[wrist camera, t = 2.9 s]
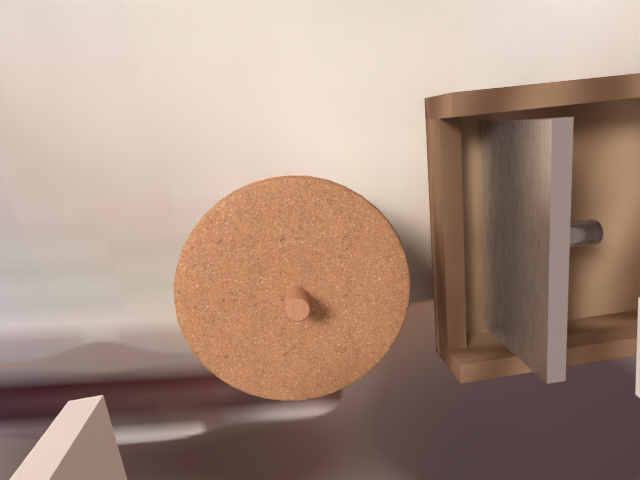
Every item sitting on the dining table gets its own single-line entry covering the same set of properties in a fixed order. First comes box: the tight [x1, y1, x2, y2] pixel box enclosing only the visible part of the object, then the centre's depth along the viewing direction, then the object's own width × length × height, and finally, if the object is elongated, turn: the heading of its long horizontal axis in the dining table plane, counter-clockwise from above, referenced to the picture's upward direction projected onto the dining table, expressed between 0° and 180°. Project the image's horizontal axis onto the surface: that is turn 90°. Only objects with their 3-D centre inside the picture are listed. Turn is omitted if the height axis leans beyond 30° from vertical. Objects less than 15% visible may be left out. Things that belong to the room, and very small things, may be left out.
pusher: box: [481, 117, 603, 384], centre depth 25 cm, size 5×13×7 cm, turn 6°
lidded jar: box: [174, 174, 411, 400], centre depth 23 cm, size 11×11×9 cm
